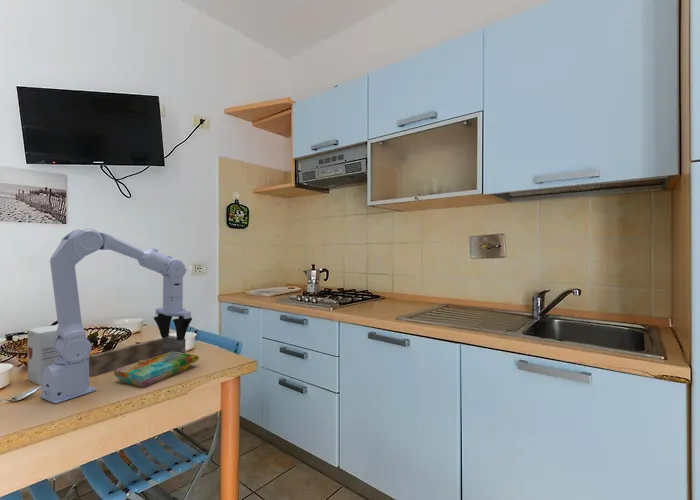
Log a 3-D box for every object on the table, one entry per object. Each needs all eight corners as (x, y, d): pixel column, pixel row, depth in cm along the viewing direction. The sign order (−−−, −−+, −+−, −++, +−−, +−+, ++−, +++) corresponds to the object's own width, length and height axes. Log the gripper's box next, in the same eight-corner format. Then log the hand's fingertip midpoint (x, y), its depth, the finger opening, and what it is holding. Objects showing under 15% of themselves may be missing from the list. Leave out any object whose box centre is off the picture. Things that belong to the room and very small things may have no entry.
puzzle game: (114, 367, 102) (172, 348, 120) (114, 383, 102) (172, 362, 120) (142, 373, 97) (198, 353, 116) (142, 390, 97) (198, 367, 116)
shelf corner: (110, 382, 102) (110, 358, 102) (88, 375, 107) (88, 352, 107) (185, 358, 124) (185, 338, 124) (164, 353, 129) (164, 334, 129)
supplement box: (26, 379, 103) (26, 328, 103) (63, 370, 111) (63, 323, 111) (39, 386, 99) (39, 332, 99) (76, 376, 107) (76, 326, 106)
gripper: (198, 296, 115) (198, 338, 115) (169, 293, 121) (168, 333, 121) (180, 299, 108) (179, 343, 108) (149, 296, 115) (149, 337, 115)
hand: (172, 338), depth 114 cm, fingers open, 7 cm apart
